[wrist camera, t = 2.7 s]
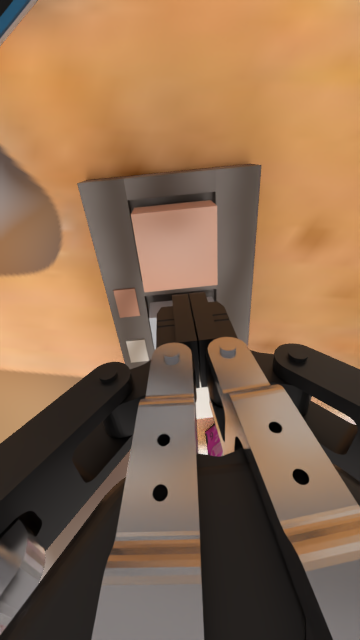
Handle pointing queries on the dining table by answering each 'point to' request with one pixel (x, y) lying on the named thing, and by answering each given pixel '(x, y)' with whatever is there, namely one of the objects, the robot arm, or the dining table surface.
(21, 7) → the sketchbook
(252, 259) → the keypad board
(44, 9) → the dining table surface
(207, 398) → the cream key
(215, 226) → the terracotta key
